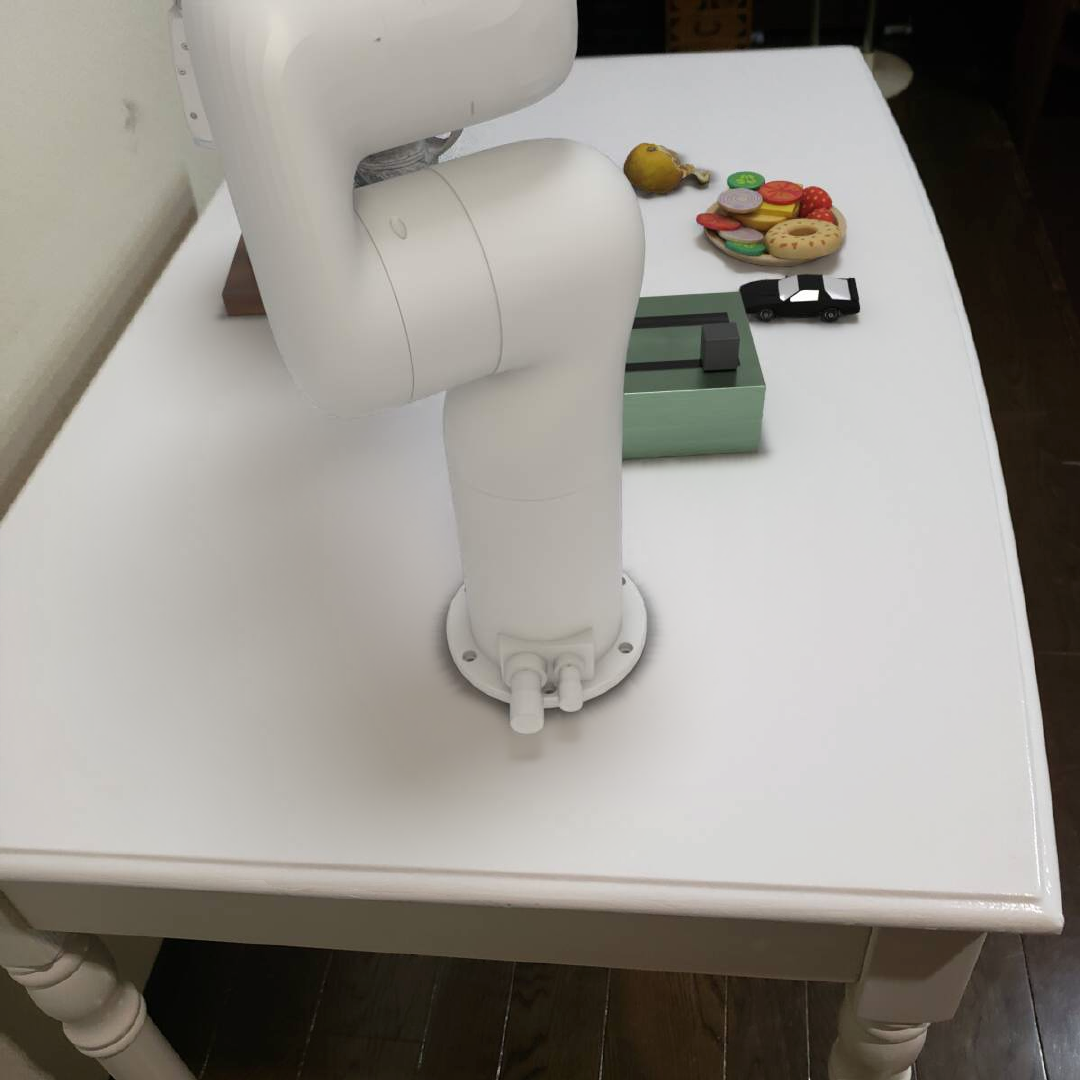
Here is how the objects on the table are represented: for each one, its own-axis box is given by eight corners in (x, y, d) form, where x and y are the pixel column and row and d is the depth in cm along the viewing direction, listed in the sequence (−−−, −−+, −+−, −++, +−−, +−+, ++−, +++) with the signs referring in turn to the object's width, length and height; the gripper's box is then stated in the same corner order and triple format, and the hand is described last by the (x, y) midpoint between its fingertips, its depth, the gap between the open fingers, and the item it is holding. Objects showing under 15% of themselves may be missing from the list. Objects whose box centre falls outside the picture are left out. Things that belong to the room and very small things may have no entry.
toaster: (758, 451, 82) (766, 385, 77) (594, 460, 82) (593, 395, 78) (734, 355, 90) (740, 290, 86) (586, 363, 90) (584, 299, 86)
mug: (359, 164, 117) (342, 68, 110) (477, 161, 116) (468, 64, 109) (342, 210, 110) (323, 111, 103) (468, 207, 110) (457, 107, 102)
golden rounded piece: (720, 181, 111) (722, 146, 108) (654, 208, 107) (655, 172, 105) (667, 152, 116) (668, 117, 113) (602, 177, 112) (602, 142, 110)
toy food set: (832, 284, 97) (837, 250, 94) (683, 264, 100) (684, 232, 98) (853, 208, 105) (858, 176, 103) (715, 193, 109) (717, 161, 107)
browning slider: (737, 368, 79) (740, 338, 77) (703, 370, 79) (705, 340, 77) (733, 352, 80) (735, 321, 78) (699, 354, 80) (701, 323, 79)
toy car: (736, 322, 93) (738, 294, 92) (734, 295, 96) (736, 268, 94) (858, 323, 92) (863, 295, 91) (852, 296, 95) (857, 268, 93)
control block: (340, 309, 98) (332, 269, 95) (227, 316, 98) (216, 276, 95) (353, 238, 106) (346, 200, 104) (249, 245, 107) (239, 206, 104)
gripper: (113, 9, 82) (182, 233, 95) (316, -4, 82) (357, 223, 95) (136, -27, 87) (199, 190, 100) (327, -39, 87) (365, 180, 100)
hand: (276, 205), depth 97 cm, fingers closed
